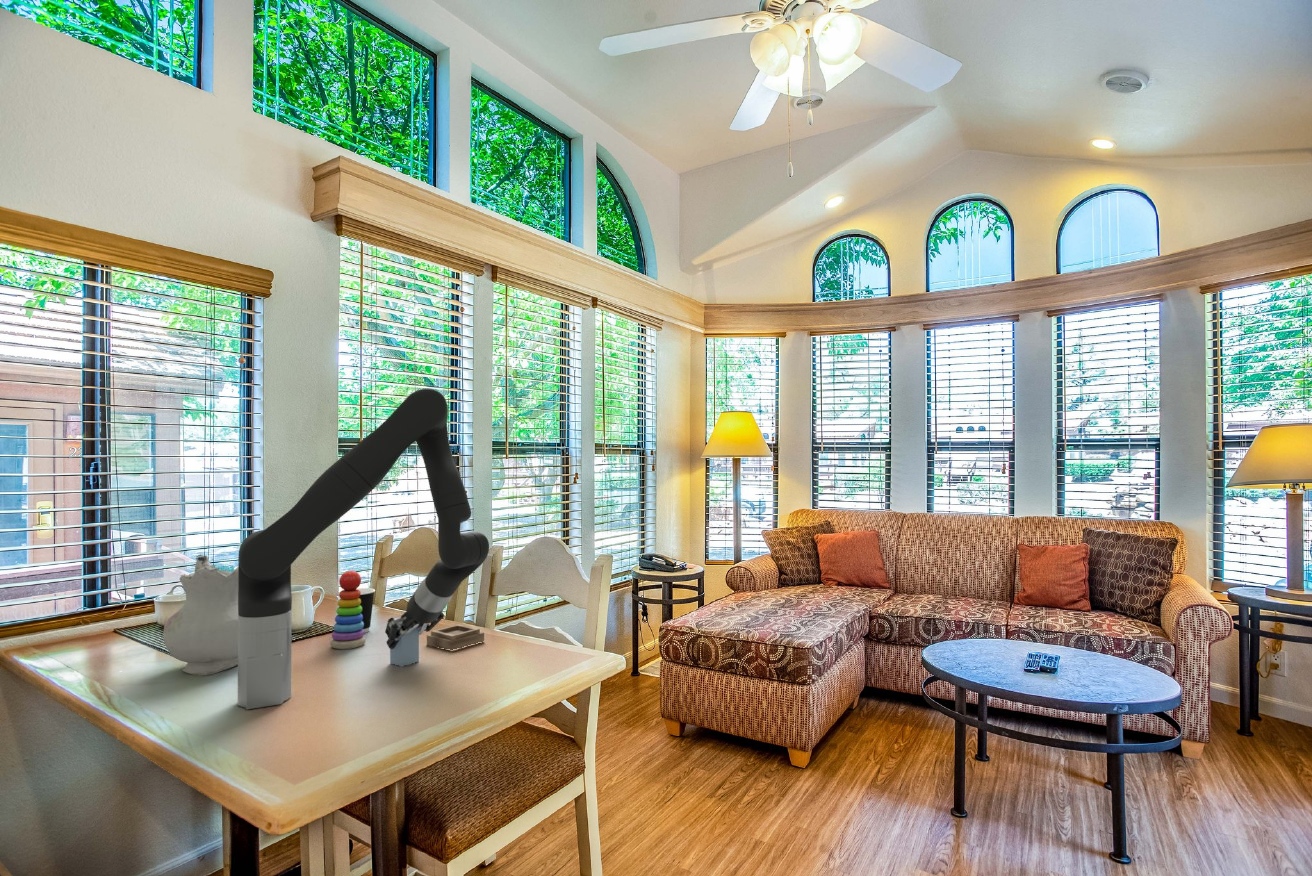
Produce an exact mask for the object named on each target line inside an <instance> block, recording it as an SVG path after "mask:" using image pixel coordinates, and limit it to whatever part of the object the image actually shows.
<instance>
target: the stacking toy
mask: <svg viewBox="0 0 1312 876" xmlns="http://www.w3.org/2000/svg"><path fill="white" fill-rule="evenodd" d="M338 582H339V587H340V589H342V590H341V591H339V593H338V597H339V599H338V601H337V603H336V604H337V606H338V607H337V608H336V609H335V611H336V612H335V613H336V615H335V618H334V621H335V623H334V624H333V630H334V631H333V632H332V633H331V639H332V640H331V641H330V646H331V647H332V648H333V649H339V650H349V649H355V648H359V647H361V646H363V645H364V644H365V643H366V638H365V636H364V635H365V633H364V630H363V629H362V628H363V627H364V623H363V621H362V619H363V615H362V614H361V612H362V607H361V606H360V604H361V600H360V599H359V598H358V597H359V596H360V595H361V592H360V591H359V590H357V589H358V588H360V585H361V583H362V578H361V575H360V574H359V573H358V572H357V571H354V570H349V571H346V572H343V573H342V574H341V576H339V581H338Z"/></svg>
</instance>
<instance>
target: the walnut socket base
mask: <svg viewBox="0 0 1312 876" xmlns="http://www.w3.org/2000/svg"><path fill="white" fill-rule="evenodd" d="M483 641H484V642H485V632H482V631H481V629H480V628H477V627H472V626H467V625H464V624H459V623H458V624H454V625H449V626H446V627H442V628H439V629H434V630H430V634H427V635H426V646H428V645H429V646H428V647H432V646H435V647H439V648H444V649H450V650H453V649H457V648H462V647H464V646H468V645H471V644H476V643H478V642H483ZM435 647H434V648H435ZM439 648H438V649H439Z"/></svg>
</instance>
